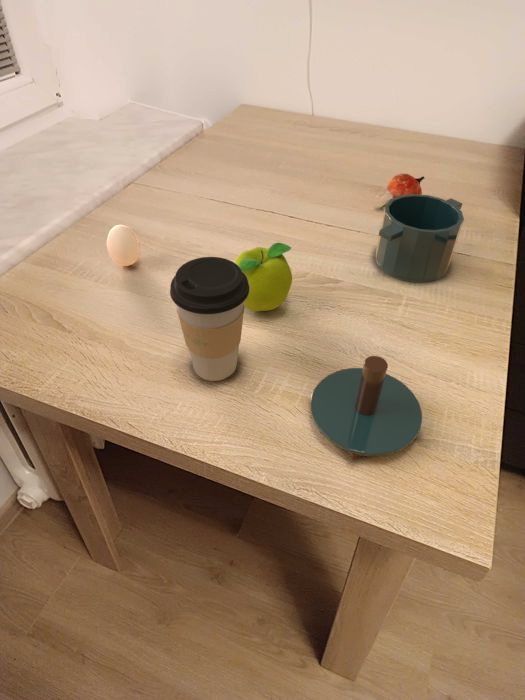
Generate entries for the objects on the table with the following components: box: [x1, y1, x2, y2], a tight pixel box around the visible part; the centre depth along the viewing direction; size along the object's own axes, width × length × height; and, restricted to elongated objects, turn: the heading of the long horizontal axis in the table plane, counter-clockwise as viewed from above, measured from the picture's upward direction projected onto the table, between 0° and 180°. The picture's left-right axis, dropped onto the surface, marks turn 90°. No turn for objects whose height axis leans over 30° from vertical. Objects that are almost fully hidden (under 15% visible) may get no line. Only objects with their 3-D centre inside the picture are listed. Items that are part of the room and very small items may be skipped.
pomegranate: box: [379, 173, 425, 210], centre depth 99 cm, size 7×7×10 cm
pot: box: [375, 194, 465, 283], centre depth 84 cm, size 12×18×10 cm
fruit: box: [233, 242, 293, 312], centre depth 75 cm, size 9×9×10 cm
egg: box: [106, 224, 141, 267], centre depth 84 cm, size 5×5×7 cm
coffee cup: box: [169, 256, 249, 382], centre depth 63 cm, size 9×9×15 cm
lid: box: [309, 355, 423, 457], centre depth 58 cm, size 13×13×9 cm
